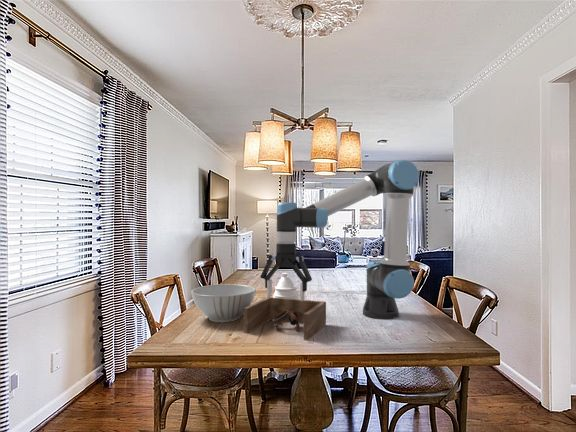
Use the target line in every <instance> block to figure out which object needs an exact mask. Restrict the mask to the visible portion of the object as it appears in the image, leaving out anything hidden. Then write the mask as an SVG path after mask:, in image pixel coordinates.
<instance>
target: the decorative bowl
mask: <svg viewBox="0 0 576 432" xmlns="http://www.w3.org/2000/svg"><path fill="white" fill-rule="evenodd" d="M256 292H257V289H256V287H254V286H251V285H245V284H240V283H239V284H238V283H237V284H236V283H234V284H233V283H231V284H230V283H225V284H224V283H223V284H221V283H220V284H210V285H204V286H203V285H202V286H198V287H195V288H193V289H191V291H190V293H191V297H192V300H193V302H194V304H195V306H196V307H197V309H198V310H199V311H200V312H201V313H202V314H204V316H206V317H208V319H209V321H211V322H215V323H230V322H234V321H238V319H240V316H241V315H243V314H244V308H245V307H247V306H250V305H252V304H253V301H254V299H255V296H256Z"/></svg>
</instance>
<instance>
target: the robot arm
mask: <svg viewBox="0 0 576 432" xmlns="http://www.w3.org/2000/svg"><path fill="white" fill-rule="evenodd" d="M419 181H420V172H419V170H418V167H417V166H416V165H415V164H414V163H413V162H411V161H410V160H407V159H403V160H402V159H401V160H395V161H393V162H390V163H386V164H384V165H382V166H381V167H378V168H377V169H375V170H374V171H373V172H371V173H369V174H367V175H365V176H363V179H362V180H360V181H357V182H355V183H353V184H351V185H350V186H348V187H345V188H343V189H340V190H339V191H337V192H335V193H333V194H331V195H329V196H327V197H324V198H322V199H321V200H318V201H316V202H315V203H312V204H310V205H308V206H306V207H298V206H297V205H298V204H297V203H296V202H287V201H286V202H278V204H277V206H276V207H277V209H276V238H275V239H276V240H275V241H276V246H275V247H276V249H275V250H276V251H275V252H276V255H275V254H269V255H268V258H267V262H266V264H265V265H264V268H263V270H262V273H261V274H260V278H261V279H263V280H264V287H265V289H266V298H267V297H273V292H272V291H273V289H272V288H273V280H272V279H271V278H272V277H273V276H274V274H276V272H277V270H279V268H280V267H281V268H291V269H292V270H293V272H294V274H296V275H297V277H298V278H299V280H300V281H301V282H300V284H299V287H300V288H299V300H300V301H302V300H305V292H307V290H308V283H309V282H311V281H313V278H312V276H311V273H310V271H309V269H308V266H307V264H306V262H305V257H304V255H300V256H297V244H296V242H297V228H313V229H314V228H316V229H319V228H320V229H321V228H326V227H327V225H328V222H329V216H332V215H334V214H336V213H338V212H341V211H342V210H344V209H346V208H349V207H351V206H352V205H355V204H357V203H358V202H361V201H363V200H365V199H367V198H369V197H371V196H372V197H376V196H379V195H383V196H384V197H385V198H386V207H385V208H386V210H385V211H386V212H385V227H384V228H385V230H384V231H385V233H384V235H385V236H384V251H383V252H384V253H383V256H384V257H383V259H381V260H380V261H369V262H367V264H366V268H365V269H366V271H365V272H366V298H365V301H364V303H363V307H362V315H363V316H365V317H367V318H370V319H371V318H372V319H380V320H381V319H382V320H390V319H396V318H398V317H399V312H400V311H399V307H398V305H397V301H396V299H397V300H398V299H404V298H406V297H407V296H409V295H410V294H411V293H412V291H413V289H414V287H415V279H414V276H413V275H412V273H411V264H410V262H409V261H408V260H407V253H408V252H407V250H408V249H407V248H408V247H407V246H408V232H409V231H408V228H409V227H408V226H409V207H410V199H411V198H412V197H413V196H414V191H415V189H414V188H415V187H416V186H417V184H418V182H419ZM275 260H276V263H274V264H275V265H274V266H273V267H272V268H271V266H272V265H273V262H274V261H275ZM296 262H298V264H299V266H300V268H301V270H302V271H301V270H300V268H299V267H298V264H297V263H296Z"/></svg>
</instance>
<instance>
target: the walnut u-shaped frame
mask: <svg viewBox="0 0 576 432" xmlns="http://www.w3.org/2000/svg"><path fill="white" fill-rule="evenodd" d="M285 310H289V312H291V311H296V313H297V315H298V323H299V324H303V341H309V340H311V338H313V337H314V336H315V335H316V334H317V333H318V332H319V331H321V330H322V329H323V328H324V327H325V326H326V324H327V314H326V313H327V302H326V301H322V300H320V301H319V300H310V299H309V300H307V299H304V300H302V301H300V298H299V299H287V298H274V297H273V296H271V297H267V296H266V297H265V298H263V299H261V300H259V301H256V302H254V303H251V305H250V306H247V307H245V308H244V313H243V333H244V334H245V333H246V334H248V333H250V332H251V331H254V330H255V329H257V328H259V327H260V326H263V324H265V323H267V322H269V321H273V319H274V318H275V319H277V318H276V316H277V315H278V314H280V313H281V312H283V311H285Z"/></svg>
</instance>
